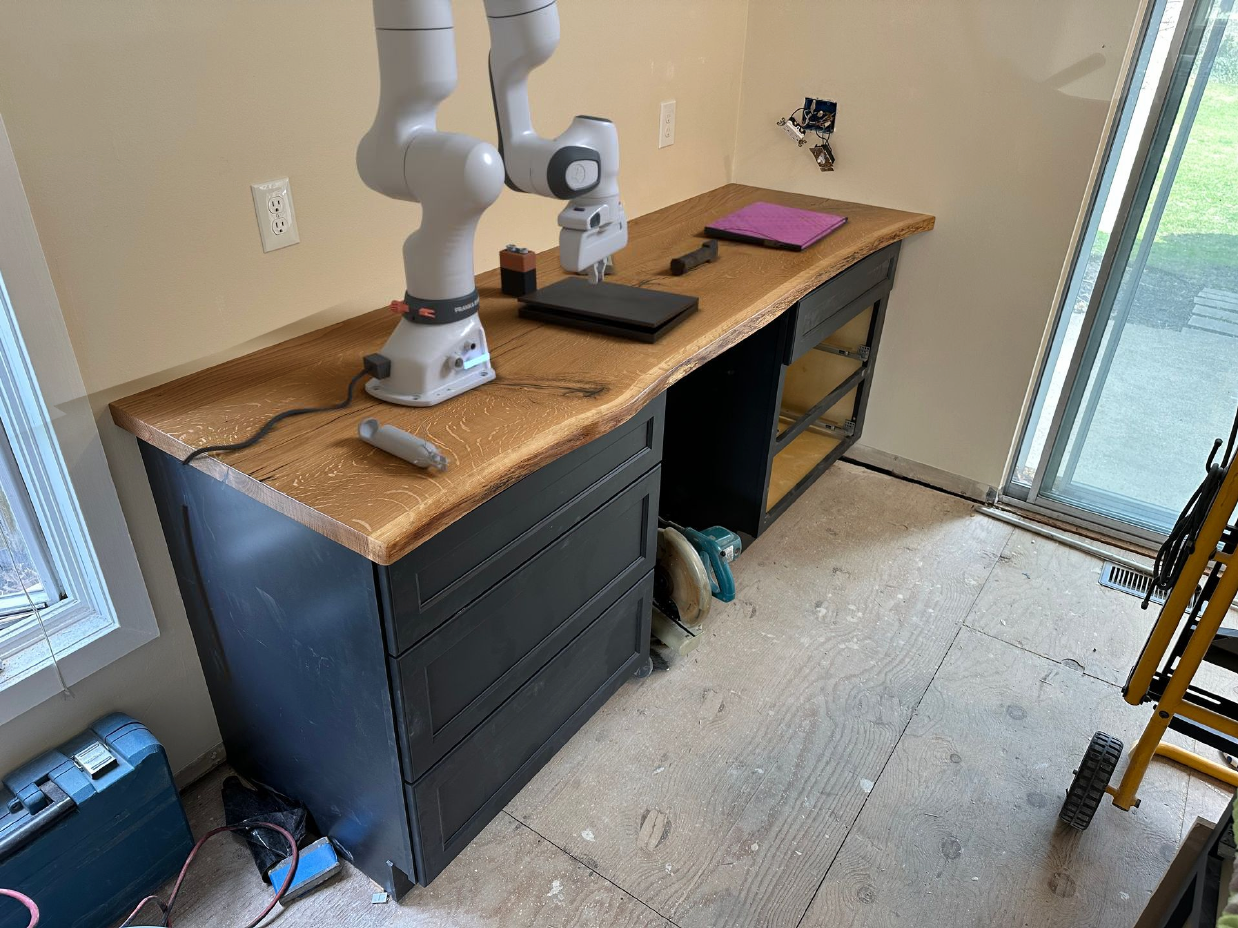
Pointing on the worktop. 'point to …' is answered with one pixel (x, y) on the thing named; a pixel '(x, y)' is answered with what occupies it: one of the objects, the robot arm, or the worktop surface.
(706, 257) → the hand tool
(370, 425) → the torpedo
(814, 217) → the laptop bag
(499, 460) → the worktop surface
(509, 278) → the battery
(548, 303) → the laptop screen
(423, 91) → the robot arm
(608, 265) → the computer
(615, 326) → the laptop
